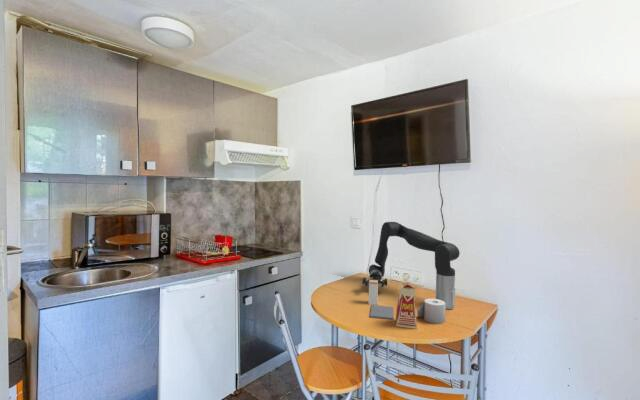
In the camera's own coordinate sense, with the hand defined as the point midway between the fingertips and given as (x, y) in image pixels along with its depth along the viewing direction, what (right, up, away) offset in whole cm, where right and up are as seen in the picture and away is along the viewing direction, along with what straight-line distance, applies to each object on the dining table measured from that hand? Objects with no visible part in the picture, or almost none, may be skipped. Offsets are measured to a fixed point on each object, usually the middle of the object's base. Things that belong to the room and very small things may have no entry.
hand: (374, 284), depth 183 cm
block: (-2, -7, -10) cm, 13 cm away
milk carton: (+9, -9, -36) cm, 38 cm away
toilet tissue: (+22, -9, -30) cm, 38 cm away
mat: (0, -8, -23) cm, 24 cm away
